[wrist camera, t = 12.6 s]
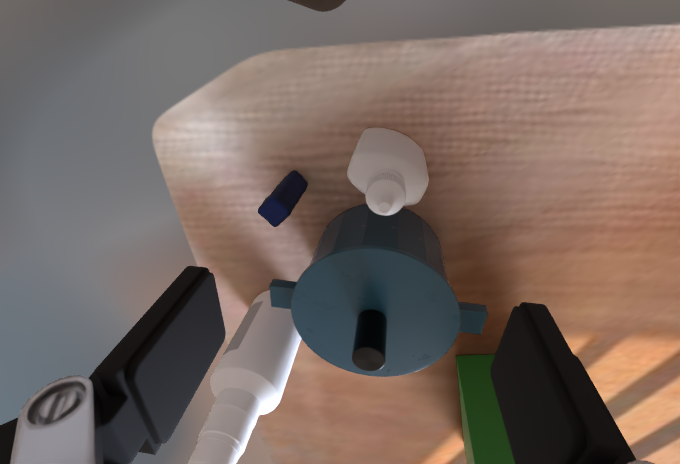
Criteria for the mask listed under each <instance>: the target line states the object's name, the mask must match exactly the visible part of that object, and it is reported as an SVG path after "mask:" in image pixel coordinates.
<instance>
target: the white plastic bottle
mask: <svg viewBox="0 0 680 464" xmlns="http://www.w3.org/2000/svg"><path fill="white" fill-rule="evenodd" d="M300 340H301V337H300V335H299V333H298V332H297V330H296V327H295V325H294V322H293V319H292V314H291V309H285V308H277V307H271V298H270V290H268V291H264V292H262V293H261V294H259V295H258V296H257V297H256V298H255V300H254V301H253V303H252V305H251V307H250V308H249V310H248V312H247V314H246V315H245V317H244V319H243V321H242V322H241V324H240V326H239V328H238V330H237V331H236V333H235V335H234V337H233V338H232V340H231V342H230V344H229V345H228V347H227V349H226V351H225V353H224V354H223V356H222V358H221V360H220V361H219V363H218V365H217V367H216V368H215V370H214V372H213V374H212V376H211V378H210V387H211V390H212V392H213V394H214V396H215V397H216V400H215V403H214V404H213V407H212V408H211V410H210V414H209V416H208V418H207V420H206V422H205V424H204V426H203V428H202V430H201V432H200V434H199V436H198V442H197V446H196V448H195V450H194V452H193V454H192V456H191V458H190V460H189V462H188V464H236V463H237V461H238V460H239V458H240V456H241V455H242V454H243V453H244V450H245V447H246V445H247V442H248V440H249V437H250V434H251V432H252V429H253V428H254V427H255V424H256V421H257V419H258V416H259V415H263V414H267V413H269V412H271V411H273V410H274V409H275V408H276V407H277V405H278V404H279V402H280V400H281V397H282V394H283V391H284V388H285V385H286V382H287V379H288V376H289V373H290V370H291V367H292V364H293V361H294V358H295V355H296V352H297V349H298V346H299V343H300Z"/></svg>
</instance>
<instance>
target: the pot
mask: <svg viewBox="0 0 680 464" xmlns="http://www.w3.org/2000/svg"><path fill="white" fill-rule="evenodd" d="M363 245H374V246H384V247H390V248H395V249H398V250H402V251H405V252H408V253H410V254H412V255H415V256H417V257H419V258H421V259H422V260H424V261H426V262H427V263H429V264H430V265H431V266H433V267H434V268H436V269H437V270H438V271H439V272H440V273H441V274H442V275H443V276H444V277H445V279H446V280H447V281H448V279H447V274H446V269H445V264H444V259H443V255H442V251H441V247H440V244H439V240H438V237H437V236H436V235H435V233H434V231H433V230H432V229H431V227H430V226H429V225H428V224H427V223H426V222H425V221H424V220H423V219H422V218H420V217H419V216H418V215H416V214H415V213H413V212H411V211H409V210H407V209H404V208H401V210H399V211H398V212H396V213H395V214H393V215H389V216H388V215H387V216H386V215H385V216H384V215H380V214H379V215H378V214H376V213H374V212H373V211H372V210H371V209H370V208H369V206H368V205H367V204H365V205H360V206H357V207H354V208H351V209H349V210H347V211H345V212H343V213H342V214H340V215H339V216H337V217H336V218H335V219H334V220H333V221H332V222H331V223H330V224H329V225H328V226H327V227H326V229H325V231H324V233H323V235H322V237H321V239H320V241H319V243H318V246H317V248H316V251H315V253H314V256H313V258H312V260H311V263H310V265H311V264H312V263H313V262H315V261H316V260H318V259H319V258H321V257H322V256H324V255H326V254H329V253H331V252H333V251H336V250H339V249H343V248H347V247H353V246H363ZM310 265H309V266H310ZM296 283H297V282H293V281H285V280H277V279H273V280H272V282H271V284H270V286H269V287H270V298H271V307H277V308H285V309H291V299H292V294H293V291H294V288H295V286H296ZM458 304H459V309H460V328H459V332H464V333H472V334H479V335H481V333H482V330H483V327H484V324H485V321H486V318H487V315H488V312H487V309H486V306H485V305H479V304H471V303H463V302H458Z"/></svg>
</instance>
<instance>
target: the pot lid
mask: <svg viewBox="0 0 680 464" xmlns="http://www.w3.org/2000/svg"><path fill="white" fill-rule="evenodd" d="M291 314H292V319H293V322H294V325H295V327H296V330H297V332H298V333H299V335H300V337H301V338H302V340H303V341H304V342H305V343H306V344H307V346H308V347H309V348H310V349H311V350H312V351H314V352H315V353H316V354H317V355H319V356H320V357H321V358H323V359H324V360H326V361H327V362H329V363H331V364H333V365H335V366H337V367H339V368H342V369H344V370H347V371H350V372H354V373H357V374H362V375H368V376H380V377H388V376H399V375H405V374H409V373H413V372H416V371H419V370H421V369H424V368H426V367H428V366H430V365H432V364H433V363H435V362H436V361H438V360H439V359H440V358H441V357H442V356H444V355H445V354H446V353H447V351H448V350H449V349H450V348H451V346H452V345H453V343H454V341H455V340H456V337H457V335H458V332H459V328H460V309H459V304H458V300H457V297H456V295H455V292H454V291H453V289H452V287H451V285H450V284H449V282H448V281H447V280H446V279H445V277H444V276H443V275H442V274H441V273H440V272H439V271H438V270H437V269H436V268H434V267H433V266H431V265H430V264H429V263H427V262H426V261H424V260H422V259H421V258H419V257H417V256H415V255H412V254H410V253H408V252H405V251H402V250H398V249H395V248H390V247H384V246H374V245H363V246H353V247H347V248H343V249H339V250H336V251H333V252H331V253H329V254H326V255H324V256H322V257H321V258H319V259H318V260H316V261H315V262H313V263H312V264H311V265H310V266H309V267H308V268H307V269H306V270H305V271H304V272H303V273H302V275H301V276H300V278H299V280H298V281H297V283H296V286H295V288H294V291H293V294H292V299H291Z"/></svg>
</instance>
